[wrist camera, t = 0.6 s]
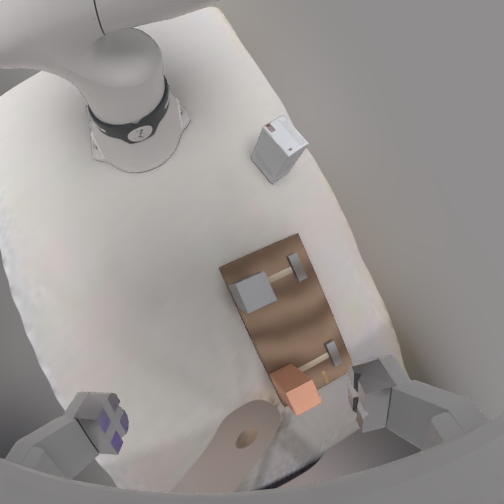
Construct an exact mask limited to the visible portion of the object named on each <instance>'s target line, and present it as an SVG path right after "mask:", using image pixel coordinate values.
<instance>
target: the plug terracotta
mask: <svg viewBox="0 0 504 504" xmlns="http://www.w3.org/2000/svg"><path fill="white" fill-rule="evenodd" d="M269 375H270V377H271V379H272V381H273V383H274V385H275V388H276V390H277V392H278V394H279V395H280V396H281V397H282V399H283V400H284V401H285V402H286V404H287V405H288V406H289V407H290V408H291V410H292V411H293V412H294V413H295V414H296V416H297V415H299V414H301V413H303V412H305V411H307V410H309V409H311V408H312V407H314V406H316V405H318V404H320V403H321V402H322V401H321V398H320V396H319V394H318V392H317V389H316V387H315V385H314V382H313V380H312V379H311V378H310V377H308V376H307V375H306V374H304V373H303V372H302V371H300V370H299V369H298V368H297V367H295V366H294V365H293V364H291V363H290V364H288V365H286V366H284V367H282V368H280V369H278V370H276V371H274V372H272V373H270V374H269Z"/></svg>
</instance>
